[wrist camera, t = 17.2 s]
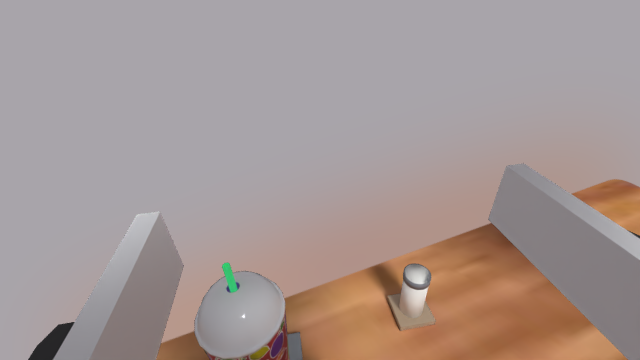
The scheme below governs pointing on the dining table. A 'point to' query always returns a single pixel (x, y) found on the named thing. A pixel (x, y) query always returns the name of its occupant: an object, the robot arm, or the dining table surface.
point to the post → (412, 299)
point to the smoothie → (243, 319)
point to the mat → (294, 346)
